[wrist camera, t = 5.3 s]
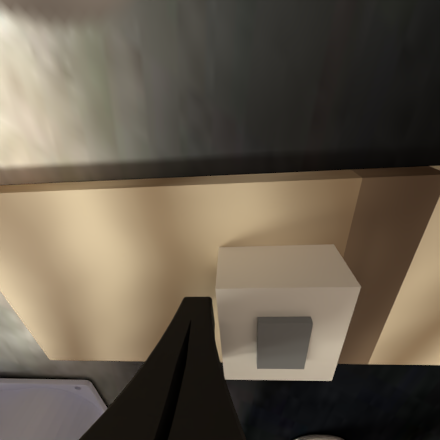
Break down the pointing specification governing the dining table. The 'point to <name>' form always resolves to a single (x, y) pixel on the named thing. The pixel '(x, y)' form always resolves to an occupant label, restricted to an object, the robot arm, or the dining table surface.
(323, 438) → the can
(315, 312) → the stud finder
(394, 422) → the dining table surface
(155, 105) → the dining table surface
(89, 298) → the board
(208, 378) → the robot arm
